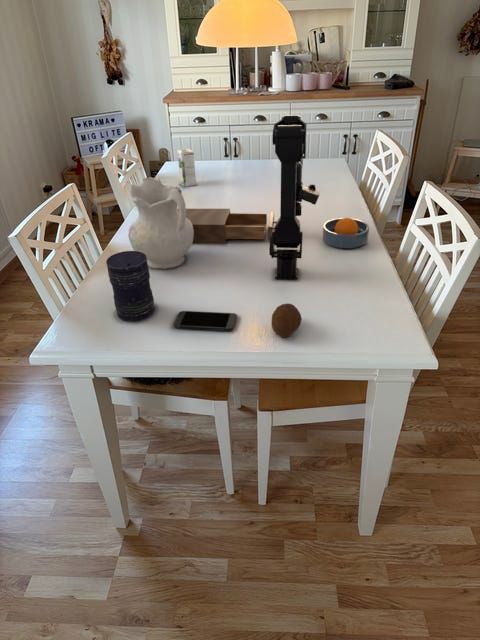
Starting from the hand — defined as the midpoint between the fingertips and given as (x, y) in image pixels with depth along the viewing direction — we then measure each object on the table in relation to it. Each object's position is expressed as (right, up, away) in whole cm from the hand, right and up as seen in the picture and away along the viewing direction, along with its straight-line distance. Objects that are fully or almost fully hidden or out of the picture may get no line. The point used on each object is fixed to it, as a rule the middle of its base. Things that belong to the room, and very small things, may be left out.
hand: (291, 226), depth 160 cm
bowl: (+17, -5, -4) cm, 18 cm away
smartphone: (-26, -32, -41) cm, 58 cm away
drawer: (-13, -1, +3) cm, 13 cm away
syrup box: (-40, +29, +53) cm, 72 cm away
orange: (+17, -4, -4) cm, 18 cm away
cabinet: (-30, -2, +5) cm, 31 cm away
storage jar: (-44, -29, -35) cm, 63 cm away
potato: (-6, -33, -45) cm, 56 cm away
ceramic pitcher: (-39, -13, -11) cm, 43 cm away
